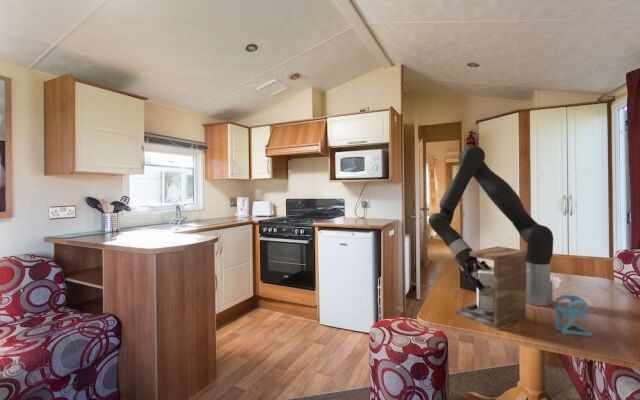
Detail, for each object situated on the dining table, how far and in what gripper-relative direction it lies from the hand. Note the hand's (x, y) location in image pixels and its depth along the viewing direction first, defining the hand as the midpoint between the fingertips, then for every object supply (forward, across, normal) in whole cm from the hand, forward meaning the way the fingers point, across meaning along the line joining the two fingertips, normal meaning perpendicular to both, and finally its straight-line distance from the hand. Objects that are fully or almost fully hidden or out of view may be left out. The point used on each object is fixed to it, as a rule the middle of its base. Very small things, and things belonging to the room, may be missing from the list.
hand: (488, 287), depth 118 cm
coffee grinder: (-9, +24, +25) cm, 36 cm away
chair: (+24, +11, -8) cm, 27 cm away
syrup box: (+5, 0, +7) cm, 9 cm away
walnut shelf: (+8, 0, +7) cm, 11 cm away
